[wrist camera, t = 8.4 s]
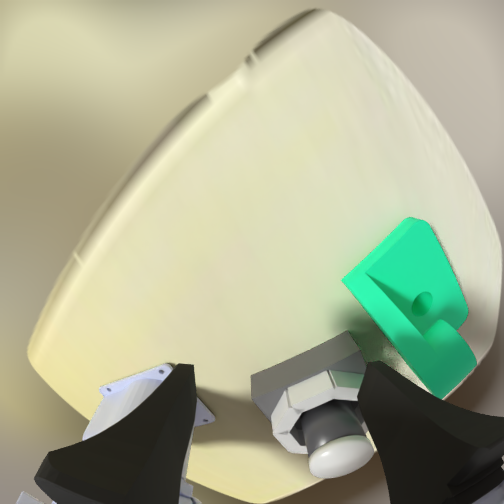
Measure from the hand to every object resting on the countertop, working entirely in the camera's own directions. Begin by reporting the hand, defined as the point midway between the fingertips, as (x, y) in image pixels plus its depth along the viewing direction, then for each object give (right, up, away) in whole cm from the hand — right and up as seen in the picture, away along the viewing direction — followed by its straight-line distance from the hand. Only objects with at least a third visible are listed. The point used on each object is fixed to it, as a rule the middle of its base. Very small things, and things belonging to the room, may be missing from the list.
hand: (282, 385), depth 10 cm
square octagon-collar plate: (+5, -7, +13) cm, 15 cm away
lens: (+5, -8, +10) cm, 13 cm away
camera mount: (+12, +2, +11) cm, 16 cm away
